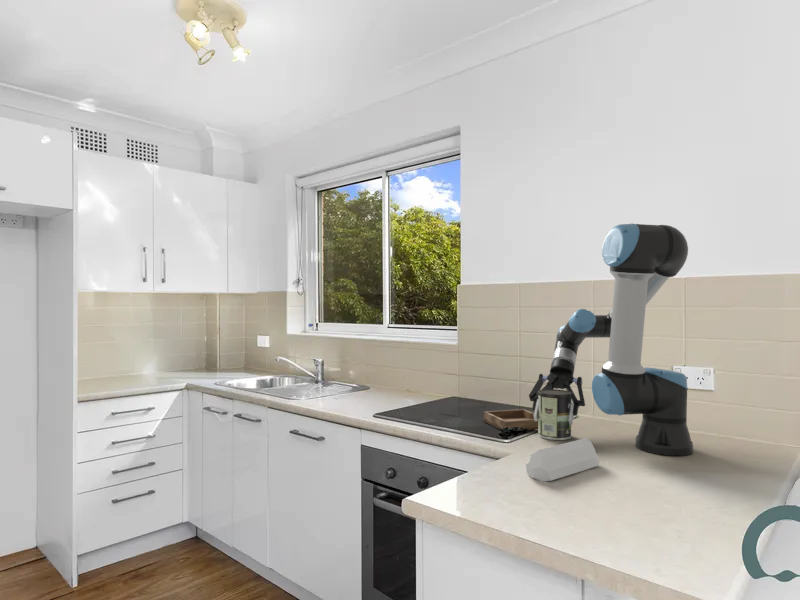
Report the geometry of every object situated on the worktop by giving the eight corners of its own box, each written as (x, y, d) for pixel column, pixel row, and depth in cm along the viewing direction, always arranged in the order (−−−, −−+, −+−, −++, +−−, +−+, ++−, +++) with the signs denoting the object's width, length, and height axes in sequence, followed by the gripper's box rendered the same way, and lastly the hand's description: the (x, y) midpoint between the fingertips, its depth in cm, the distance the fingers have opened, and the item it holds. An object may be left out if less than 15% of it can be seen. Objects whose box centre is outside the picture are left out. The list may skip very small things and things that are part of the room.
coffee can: (569, 433, 176) (570, 389, 176) (573, 441, 166) (573, 395, 166) (536, 431, 178) (537, 388, 178) (538, 439, 168) (538, 393, 168)
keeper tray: (548, 429, 180) (548, 418, 180) (505, 432, 176) (505, 421, 176) (523, 418, 196) (523, 409, 196) (483, 421, 191) (483, 411, 191)
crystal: (573, 443, 150) (515, 459, 135) (593, 435, 145) (535, 450, 130) (584, 470, 147) (526, 489, 132) (605, 463, 142) (547, 481, 127)
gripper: (599, 374, 180) (591, 431, 166) (531, 369, 190) (519, 423, 177) (597, 359, 175) (589, 418, 161) (527, 355, 186) (514, 410, 172)
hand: (552, 420), depth 169 cm, fingers closed on coffee can, 10 cm apart
